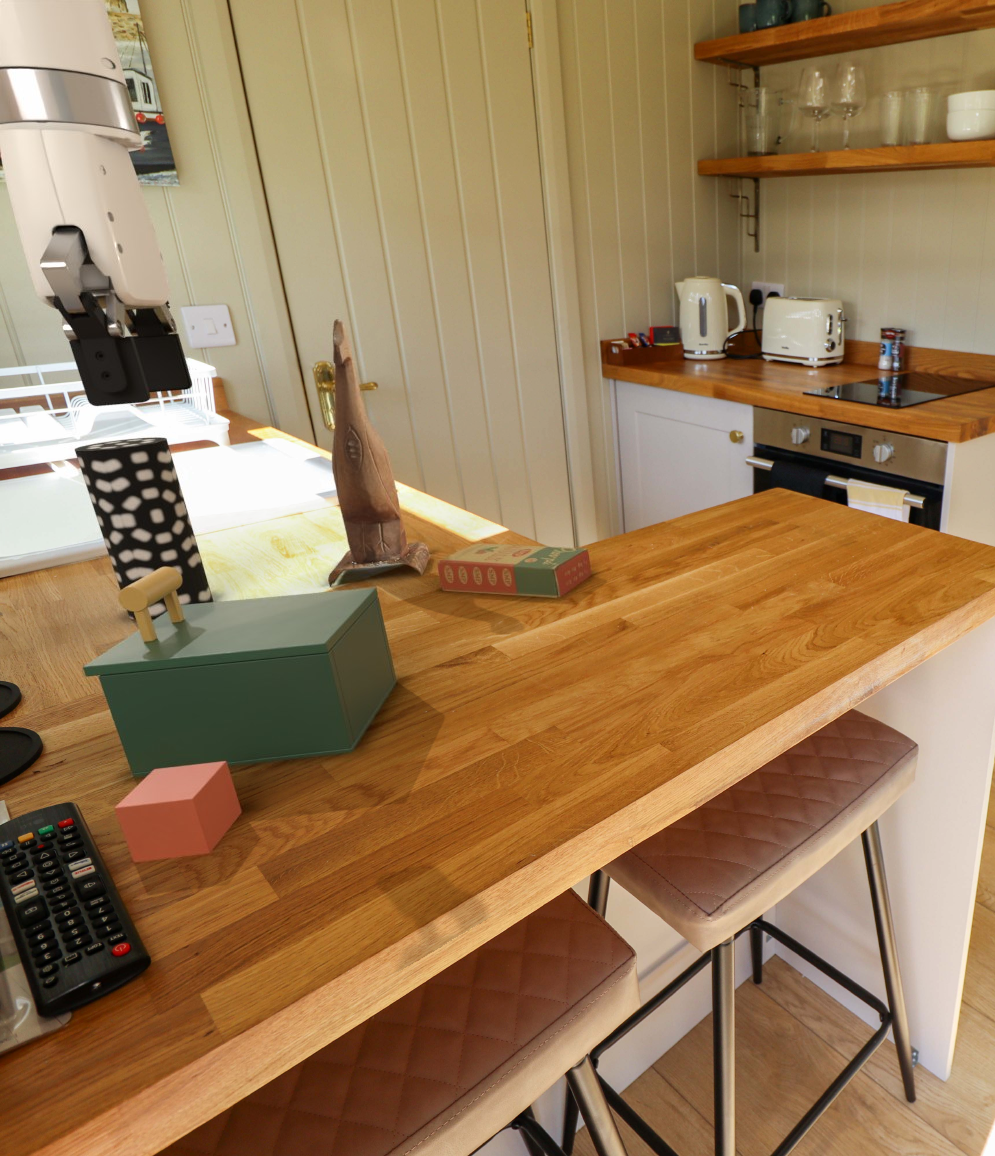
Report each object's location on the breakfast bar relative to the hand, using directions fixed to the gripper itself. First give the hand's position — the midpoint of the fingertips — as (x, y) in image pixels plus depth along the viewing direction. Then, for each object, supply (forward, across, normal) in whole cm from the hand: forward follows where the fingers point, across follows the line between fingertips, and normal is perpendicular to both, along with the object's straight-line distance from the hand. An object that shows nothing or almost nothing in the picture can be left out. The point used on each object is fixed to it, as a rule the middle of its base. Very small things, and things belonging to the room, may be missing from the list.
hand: (146, 396), depth 57 cm
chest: (+28, -2, +2) cm, 28 cm away
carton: (+28, -31, +23) cm, 48 cm away
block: (+28, +13, -1) cm, 30 cm away
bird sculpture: (+28, -45, +7) cm, 54 cm away
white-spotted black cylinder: (+28, -42, -16) cm, 53 cm away
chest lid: (+19, -2, +1) cm, 19 cm away
